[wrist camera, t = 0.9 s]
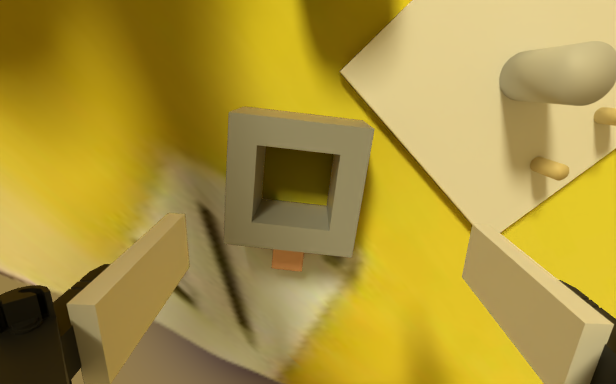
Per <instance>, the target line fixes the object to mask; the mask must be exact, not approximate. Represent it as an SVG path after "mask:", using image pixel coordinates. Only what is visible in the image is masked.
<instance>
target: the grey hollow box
mask: <svg viewBox="0 0 616 384" xmlns="http://www.w3.org/2000/svg"><path fill="white" fill-rule="evenodd" d="M373 134H374V128H372V127H371V126H370V125H368V124H367V123H366V122H364V121H363V120H354V119H346V118H337V117H329V116H320V115H312V114H304V113H295V112H287V111H278V110H270V109H261V108H253V107H242V108H239V109H236V110H233V111H230V112H229V121H228V146H227V171H226V196H225V221H224V244H231V245H240V246H249V247H258V248H267V249H273V258H272V268H274V269H283V270H293V271H302V265H303V257H304V253H313V254H322V255H332V256H341V257H350V258H352V254H353V248H354V243H355V237H356V231H357V225H358V220H359V214H360V208H361V203H362V197H363V191H364V185H365V180H366V174H367V168H368V162H369V157H370V151H371V145H372V140H373ZM266 146H269V147H278V148H286V149H295V150H304V151H312V152H321V153H330V154H334V156H333V163H332V170H331V177H330V185H329V192H328V199H327V206H323V205H314V204H305V203H297V202H288V201H279V200H270V199H262V193H263V180H264V166H265V153H266Z"/></svg>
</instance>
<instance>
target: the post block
mask: <svg viewBox="0 0 616 384" xmlns="http://www.w3.org/2000/svg"><path fill="white" fill-rule="evenodd" d="M340 73H341V74H342V75H343V76H344V78H345V79H346V80H347V81H348V82H349V83H350V85H351V86H352V87H353V88H354V89H355V90H356V91H357V93H358V94H359V95H360V96H361V97H362V98H363V100H364V101H365V102H366V103H367V104H368V105H369V106H370V108H371V109H372V110H373V111H374V112H375V113H376V115H377V116H378V117H379V118H380V119H381V120H382V122H383V123H384V124H385V125H386V126H387V127H388V128H389V130H390V131H391V132H392V133H393V134H394V135H395V137H396V138H397V139H398V140H399V141H400V142H401V143H402V145H403V146H404V147H405V148H406V149H407V150H408V152H409V153H410V154H411V155H412V156H413V157H414V158H415V160H416V161H417V162H418V163H419V164H420V165H421V167H422V168H423V169H424V170H425V171H426V172H427V173H428V175H429V176H430V177H431V178H432V179H433V180H434V182H435V183H436V184H437V185H438V186H439V187H440V188H441V190H442V191H443V192H444V193H445V194H446V195H447V197H448V198H449V199H450V200H451V201H452V202H453V203H454V205H455V206H456V207H457V208H458V209H459V210H460V212H461V213H462V214H463V215H464V216H465V217H466V218H467V220H468V221H469V222H470V223H471V224H481V225H490V226H491V227H493V228H494V229H495V230H496V231H498V232H499V233H500V232H502V231H503V230H505V229H506V228H507V227H509V226H510V225H511V224H513V223H514V222H516V221H517V220H518V219H520V218H521V217H522V216H524V215H525V214H526V213H528V212H529V211H531V210H532V209H533V208H535V207H536V206H537V205H539V204H540V203H542V202H543V201H544V200H546V199H547V198H548V197H550V196H551V195H552V194H554V193H555V192H557V191H558V190H559V189H561V188H562V187H563V186H565V185H566V184H568V183H569V182H570V181H572V180H573V179H574V178H576V177H577V176H578V175H580V174H581V173H583V172H584V171H585V170H587V169H588V168H589V167H591V166H592V165H594V164H595V163H596V162H598V161H599V160H600V159H602V158H603V157H604V156H606V155H607V154H609V153H610V152H611V151H613V150H614V149H615V148H616V0H412V1H411V2H410V3H409V4H408V5H407V6H406V7H405V8H404V9H403V10H402V11H401V12H400V13H399V14H398V15H397V16H396V17H395V18H394V19H393V20H392V21H391V22H390V23H389V24H388V25H387V26H386V27H384V28H383V29H382V30H381V31H380V32H379V33H378V34H377V35H376V36H375V37H374V38H373V39H372V40H371V41H370V42H369V43H368V44H367V45H366V46H365V47H364V48H363V49H362V50H361V51H360V52H359V53H358V54H357V55H356V56H355V57H354V58H353V59H352V60H351V61H350V62H349V63H348V64H347V65H346V66H345V67H344V68H343V69H342V70H341V71H340Z"/></svg>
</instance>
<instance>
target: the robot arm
mask: <svg viewBox="0 0 616 384" xmlns="http://www.w3.org/2000/svg"><path fill="white" fill-rule="evenodd" d="M189 267H190V266H189V254H188V242H187V231H186V219H185V214H180V213H168V214H167V215H166V216H164V217H163V218H162V219H161V220H160V221H159V222H158V223H157V224H156V225H154V226H153V227H152V228H151V229H150V230H149V231H148V232H147V233H145V234H144V235H143V236H142V237H141V238H140V239H139V240H138V241H136V242H135V243H134V244H133V245H132V246H131V247H130V248H129V249H128V250H126V251H125V252H124V253H123V254H122V255H121V256H120V257H119V258H117V259H116V260H115V261H114V262H113V263H112V264H104V265H102V266H100V267H98V268H96V269H94V270H92V271H90V272H89V273H88V274H87V275H85V276H84V277H83V278H82V279H81V280H80V282H77V283H76V284H75V285H74V286H72V287H71V289H69V290H68V291H66V292H65V293H64V294H63V295H62V296H60V297H59V298H58V299H57V300H56V301H55V302H52V297H51V293H50V290H49V289H48V288H47V287H44V286H41V285H36V286H26V287H21V288H17V289H14V290H11V291H8V292H5V293H4V294H1V295H0V384H72V382H71V379H72V378H73V376H74V375H75V374H76V373H77V372H78V370H79V369H80V368H81V371H82V376H83V380H84V383H85V384H111V383H112V381H113V380H114V378H115V377H116V375H117V374H118V372H119V371H120V369H121V368H122V366H123V365H124V363H125V362H126V360H127V359H128V358H129V356H130V354H131V353H132V351H133V350H134V349H135V347H136V346H137V344H138V342H139V341H140V339H141V338H142V337H143V335H144V334H145V332H146V331H147V329H148V328H149V326H150V325H151V323H152V322H153V320H154V319H155V317H156V316H157V314H158V313H159V312H160V310H161V309H162V307H163V306H164V304H165V303H166V301H167V300H168V298H169V297H170V295H171V294H172V292H173V291H174V289H175V288H176V286H177V285H178V283H179V282H180V280H181V279H182V277H183V276H184V274H185V273H186V271H187V270H188V269H189ZM462 278H463V279H464V280H465V282H466V283H467V284H468V286H469V287H470V288H471V289H472V291H473V292H474V293H475V295H476V296H477V297H478V298H479V300H480V301H481V302H482V304H483V305H484V306H485V308H486V309H487V310H488V311H489V313H490V314H491V315H492V317H493V318H494V319H495V321H496V322H497V323H498V324H499V326H500V327H501V328H502V330H503V331H504V332H505V334H506V335H507V336H508V337H509V339H510V340H511V341H512V343H513V344H514V345H515V347H516V348H517V349H518V350H519V352H520V353H521V354H522V356H523V357H524V358H525V359H526V361H527V362H528V363H529V365H530V366H531V367H532V369H533V370H534V371H535V372H536V374H537V375H538V376H539V378H540V379H541V380H542V382H543V383H544V384H616V319H615V318H614V317H612V316H611V315H610V314H609V313H607V312H606V311H605V310H603V309H602V308H599V306H598V305H597V304H596V303H594V302H593V301H592V300H589V298H588V297H587V296H585V295H584V294H583V293H582V292H580V291H579V290H578V289H576V288H575V287H573V286H571V285H569V284H567V283H565V282H563V281H561V280H558V279H556V278H555V277H554V276H553V275H551V274H550V273H549V272H548V271H546V270H545V269H544V268H543V267H541V266H540V265H539V264H538V263H536V262H535V261H534V260H533V259H531V258H530V257H529V256H528V255H526V254H525V253H524V252H523V251H521V250H520V249H519V248H518V247H516V246H515V245H514V244H513V243H511V242H510V241H509V240H508V239H506V238H505V237H504V236H503V235H501V234H500V233H499V232H498V231H496V230H495V229H494V228H493V227H491V226H490V225H481V224H472V229H471V234H470V239H469V244H468V249H467V254H466V259H465V264H464V269H463V274H462Z"/></svg>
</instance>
